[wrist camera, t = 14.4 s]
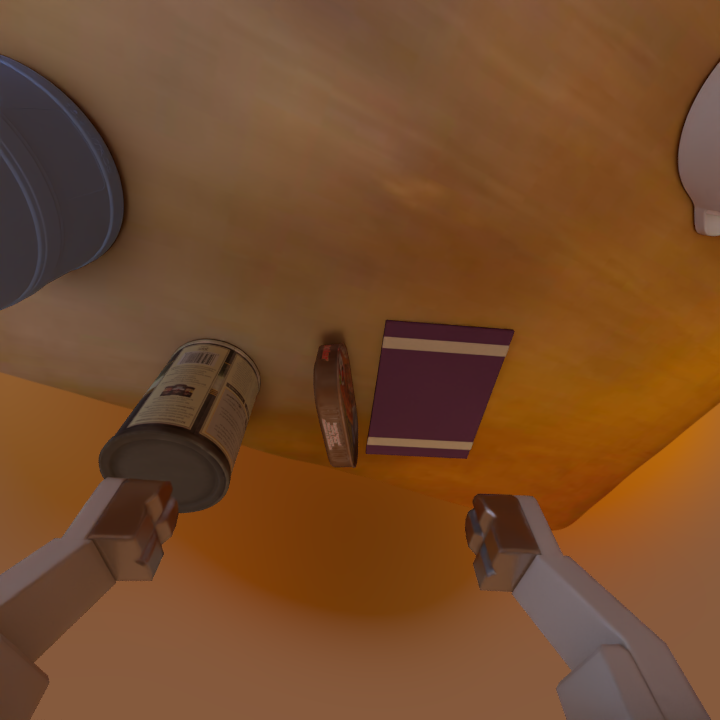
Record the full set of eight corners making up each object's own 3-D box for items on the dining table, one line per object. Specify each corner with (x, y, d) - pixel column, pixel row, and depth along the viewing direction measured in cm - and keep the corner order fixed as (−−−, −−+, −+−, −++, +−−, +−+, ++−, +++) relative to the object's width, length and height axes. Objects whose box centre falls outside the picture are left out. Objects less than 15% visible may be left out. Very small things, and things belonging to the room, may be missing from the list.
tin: (359, 429, 47) (361, 483, 40) (335, 432, 47) (333, 486, 40) (344, 327, 39) (343, 373, 32) (315, 330, 39) (307, 376, 32)
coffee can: (204, 420, 46) (154, 525, 34) (149, 356, 40) (67, 454, 29) (277, 396, 44) (251, 497, 32) (230, 325, 38) (178, 416, 27)
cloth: (513, 329, 40) (514, 331, 39) (465, 456, 51) (466, 459, 50) (386, 319, 39) (386, 321, 38) (365, 451, 49) (365, 454, 49)
